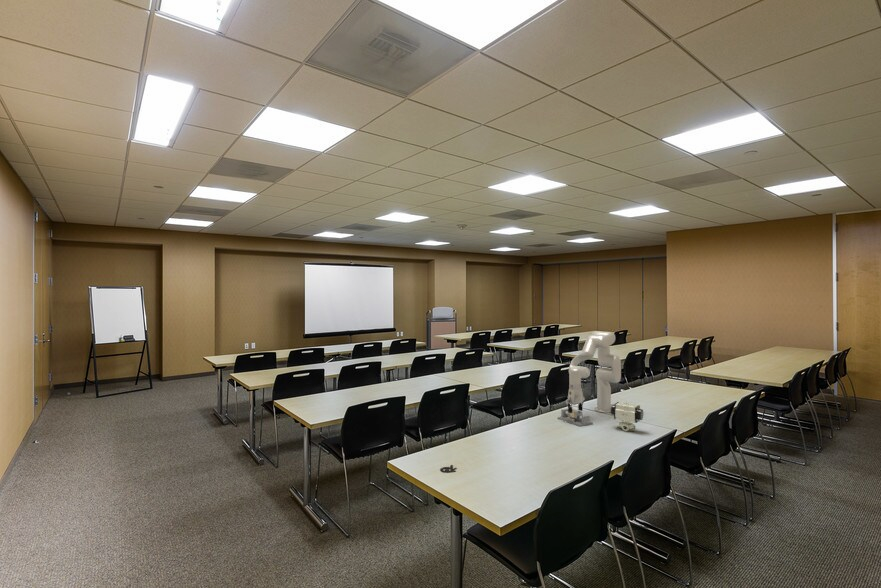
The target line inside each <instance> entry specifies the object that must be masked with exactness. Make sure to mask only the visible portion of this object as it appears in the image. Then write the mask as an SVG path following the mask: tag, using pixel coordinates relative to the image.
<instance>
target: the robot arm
mask: <svg viewBox="0 0 881 588" xmlns="http://www.w3.org/2000/svg"><path fill="white" fill-rule="evenodd" d="M615 342H616V334H615V333H613V332H611V331H598V330H595V331H592V332H591V333H590V335H588V336H587V337H586V340H585V343H584V345H583V347H582V350H581V351H580V353H578V354H577V355H576V356H574V357H573V358H572V360H571V361H570V364H569V367H568V374H569V376H568V377H569V381H568V382H569V385H568V387H569V388H568V393H567V394H568V395H567V399H566V400H565V403H566V406H567V409H568V412H569V413H572V409H573V405H577V407H578V409H577V411H581V412H583V410H584V409H583V406H584V402H585V399H586V397H584V394H583V389H582V379H587V378H588V377H590V375H591V370H590V368H588V367H586V366H579V364H580V363H582V362H584V361H587V360H590V359H593V358H594V356H595V353H596V350H597V363H598V365H599V366H600V367H599V368H597V369H596V371H595V376H596V377H595V378H596V384H597V385H596V396H597V398H596V407H595V408H594V410H595V411H596V412H599V413H606V414H608V413H610V414H611V406H612V405H614V404H615V403H613V404H611V402H612V400H611V399H612V388H611V384H610V383H614V384H617V383H619V382H620V381H621V379H622V361H621V358H620V356H618V355H617V354H611V347H610V346H611V345H613V344H614V343H615Z"/></svg>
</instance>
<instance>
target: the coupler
mask: <svg viewBox="0 0 881 588" xmlns="http://www.w3.org/2000/svg"><path fill="white" fill-rule="evenodd" d="M580 416H583V411H580V410H578V409H574V408H572V413H569V412H568V417H569V418H572V419H575V421H576V422H579V421H582V419H580V418H579V417H580Z"/></svg>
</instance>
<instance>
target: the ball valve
mask: <svg viewBox="0 0 881 588" xmlns="http://www.w3.org/2000/svg"><path fill="white" fill-rule="evenodd" d="M613 404H614V405H612V404H611V405H612V406H611V412H610V414H611V416H613V417H614V418H613V419H614V420H620V421H619V422H618V428H619V429H621V430H622V431H624V432H628V431H630V432H632V431H635V430H636V424H637V423H639V422H640V421H642V420H643V419H644V409H642V408H641V406H640V404H639V405H638V404H633V403H629V402H628V401H625V402H619V401H616V402H615V403H613ZM634 423H635V424H634Z"/></svg>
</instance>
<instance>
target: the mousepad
mask: <svg viewBox="0 0 881 588" xmlns="http://www.w3.org/2000/svg"><path fill="white" fill-rule="evenodd" d="M439 470H440V472H441V473H446V474H449V473H456V472H457V467H454V466H453V464H450V466H444V467H441V468H440V469H439Z"/></svg>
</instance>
